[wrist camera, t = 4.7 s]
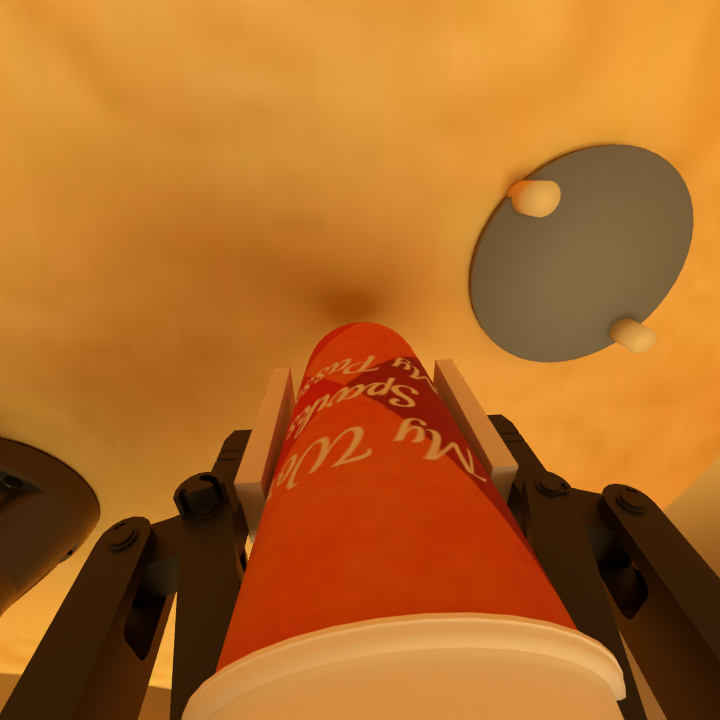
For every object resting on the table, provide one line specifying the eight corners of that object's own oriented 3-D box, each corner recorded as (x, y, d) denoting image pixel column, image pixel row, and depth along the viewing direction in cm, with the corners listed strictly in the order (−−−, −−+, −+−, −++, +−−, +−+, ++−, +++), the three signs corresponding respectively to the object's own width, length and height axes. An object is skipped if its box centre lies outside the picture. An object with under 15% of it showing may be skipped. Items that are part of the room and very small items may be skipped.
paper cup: (417, 278, 15) (773, 719, 3) (448, 407, 19) (660, 850, 6) (258, 330, 16) (-29, 858, 3) (317, 445, 19) (278, 905, 7)
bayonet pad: (457, 360, 26) (469, 379, 24) (485, 149, 19) (505, 145, 17) (634, 354, 26) (664, 372, 24) (723, 142, 20) (777, 137, 17)
